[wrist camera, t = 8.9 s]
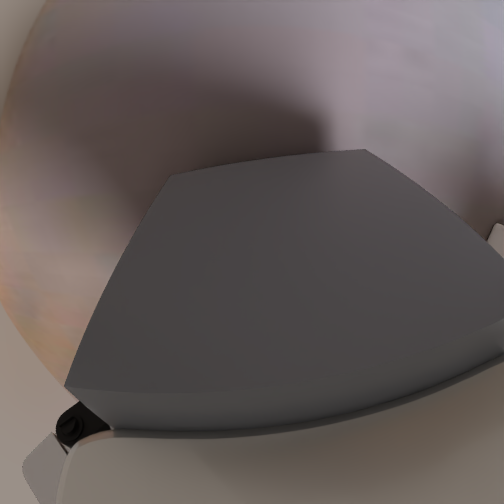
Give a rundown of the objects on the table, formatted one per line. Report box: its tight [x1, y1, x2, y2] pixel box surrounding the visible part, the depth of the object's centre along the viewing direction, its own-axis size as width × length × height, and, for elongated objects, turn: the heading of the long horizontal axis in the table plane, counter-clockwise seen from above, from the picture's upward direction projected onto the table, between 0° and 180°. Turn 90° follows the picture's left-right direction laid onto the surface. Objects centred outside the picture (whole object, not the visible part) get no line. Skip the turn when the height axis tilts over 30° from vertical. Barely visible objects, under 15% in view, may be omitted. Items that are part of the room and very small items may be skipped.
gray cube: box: [64, 149, 504, 431], centre depth 9 cm, size 8×8×9 cm
